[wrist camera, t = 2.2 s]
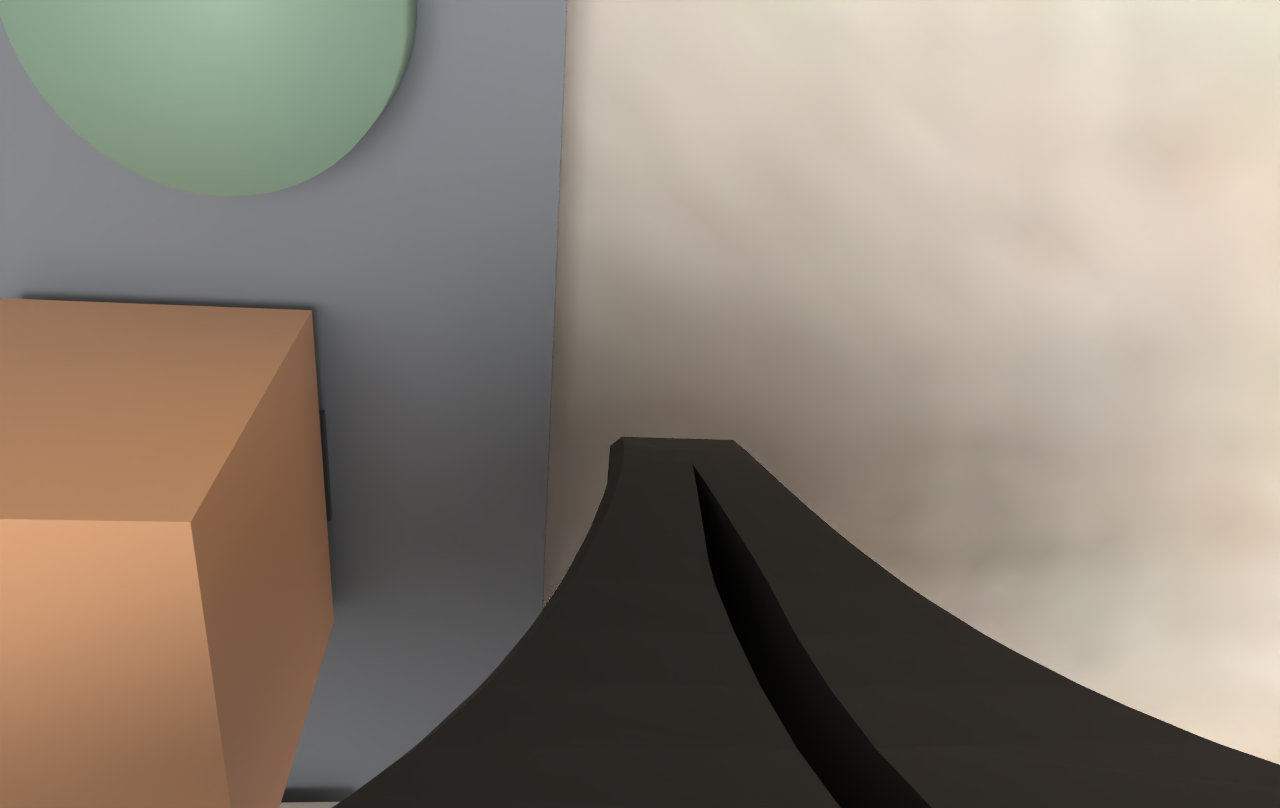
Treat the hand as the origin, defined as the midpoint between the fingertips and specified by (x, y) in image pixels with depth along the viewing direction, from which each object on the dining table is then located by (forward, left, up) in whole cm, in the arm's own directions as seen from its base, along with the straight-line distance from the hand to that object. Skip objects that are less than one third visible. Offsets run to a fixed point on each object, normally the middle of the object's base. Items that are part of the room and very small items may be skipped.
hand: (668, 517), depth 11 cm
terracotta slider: (0, +5, -1) cm, 5 cm away
